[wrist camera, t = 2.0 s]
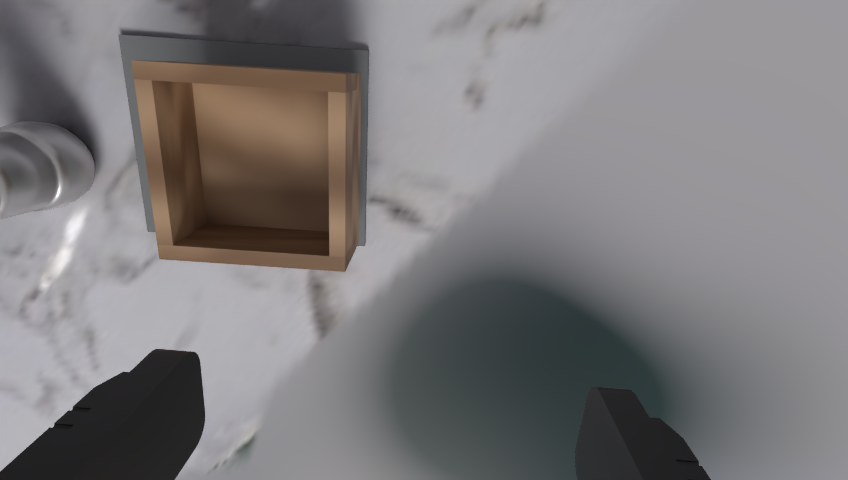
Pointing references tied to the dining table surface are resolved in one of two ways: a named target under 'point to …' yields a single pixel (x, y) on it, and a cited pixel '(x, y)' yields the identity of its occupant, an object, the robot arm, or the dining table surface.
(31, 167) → the plastic bottle
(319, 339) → the dining table surface
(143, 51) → the gray mat
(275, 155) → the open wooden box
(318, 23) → the dining table surface
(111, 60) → the dining table surface
